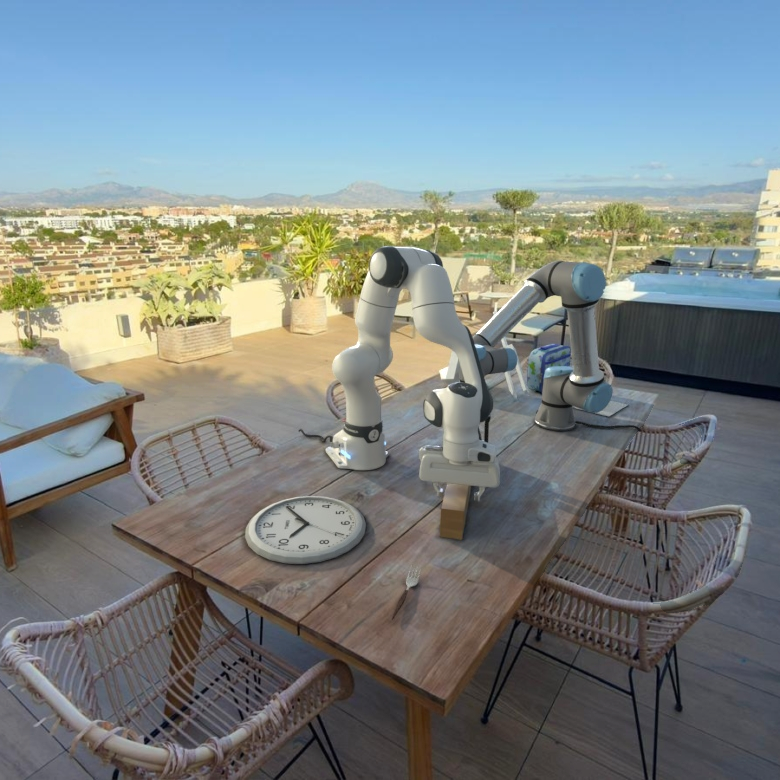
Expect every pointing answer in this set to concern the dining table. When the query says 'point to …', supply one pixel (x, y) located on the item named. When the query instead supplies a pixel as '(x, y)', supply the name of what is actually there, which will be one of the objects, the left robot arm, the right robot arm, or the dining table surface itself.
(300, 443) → the dining table surface
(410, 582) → the fork
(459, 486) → the bar
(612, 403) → the invitation card
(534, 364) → the lunch box
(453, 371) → the white plastic object
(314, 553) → the wall clock
